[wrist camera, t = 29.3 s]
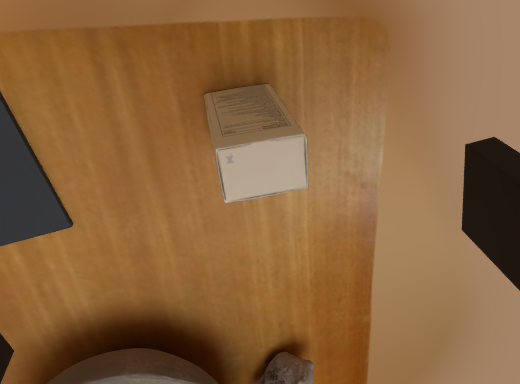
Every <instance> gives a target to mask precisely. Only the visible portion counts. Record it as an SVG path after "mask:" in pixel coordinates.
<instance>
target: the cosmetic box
mask: <svg viewBox="0 0 520 384" xmlns="http://www.w3.org/2000/svg"><path fill="white" fill-rule="evenodd" d="M204 99H205V106H206V113H207V119H208V125H209V130H210V135H211V140H212V145H213V150H214V155H215V160H216V166H217V170H218V175H219V180H220V184H221V189H222V194H223V198H224V201H225V202H236V201H243V200H249V199H254V198H260V197H265V196H271V195H276V194H281V193H286V192H291V191H295V190H300V189H305V188H307V186H308V181H307V178H308V164H307V137H306V135H305V133H304V132H303V131H302V129H301V128H300V126H299V125H298V123H297V122H296V121H295V119H294V118H293V116H292V115H291V113H290V112H289V111H288V109H287V108H286V106H285V105H284V104H283V102H282V101H281V99H280V98H279V96H278V95H277V93H276V92H275V91H274V89H273V88H272V86H271V85H270V84H263V85H254V86H247V87H241V88H234V89H228V90H223V91H217V92H212V93H207V94H205V95H204Z"/></svg>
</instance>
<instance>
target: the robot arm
mask: <svg viewBox="0 0 520 384" xmlns="http://www.w3.org/2000/svg"><path fill="white" fill-rule="evenodd" d="M462 230H463V232H464V233H465V234H466V235H467V236H468V237H469V238H470V239H471V240H472V241H473V242H474V243H475V244H476V245H477V246H478V247H479V248H480V249H481V250H482V251H483V253H484V254H486V256H487V257H488V258H489V259H490V260H491V261H492V262H493V263H494V264H495V265H496V266H497V267H498V268H499V269H500V270H501V271H502V273H503V274H504V275H505V276H506V277H507V278H508V279H509V280H510V281H511V282H512V283H513V284H514V285H515V286H516V287H517V288H518V289H519V290H520V153H519V152H517V151H516V150H514V149H513V148H511V147H510V146H508V145H506V144H505V143H503V142H502V141H500V140H498V139H497V138H495V137H492V138H488V139H484V140H481V141H477V142H473V143H470V144H466V145H465V167H464V190H463V214H462ZM13 352H14V350H13V349H12V347H11V346H10V345H9V344H8V342H7V341H6V340H5V339H4V337H3V336H2V335H1V334H0V383H1V381H2V379H3V376H4V374H5V371H6V369H7V367H8V364H9V362H10V359H11V357H12V355H13Z"/></svg>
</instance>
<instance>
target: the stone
mask: <svg viewBox="0 0 520 384" xmlns="http://www.w3.org/2000/svg"><path fill="white" fill-rule="evenodd" d="M313 369H314V364H313V363H312V362H311V361H310V360H303V359H301V358H298V357H296V356H294V355H291V354H289V353H288V352H281V353H278V354H277V355H276V356H275V357H274V358H273V360H272V361H271V362H270V363H269V365H268V367H267V369H266V371H265V372H264V375H263V376H262V377H261V378H260V379H259V380H258V381H257V382H255V384H313V378H314V375H313Z"/></svg>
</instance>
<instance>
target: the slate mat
mask: <svg viewBox="0 0 520 384" xmlns="http://www.w3.org/2000/svg"><path fill="white" fill-rule="evenodd" d="M72 225H73V223H72V221H71V219H70V218H69V216H68V214H67V212H66V210H65V209H64V207H63V205H62V203H61V201H60V200H59V198H58V196H57V194H56V192H55V191H54V189H53V187H52V185H51V183H50V182H49V180H48V178H47V176H46V174H45V173H44V171H43V169H42V167H41V165H40V164H39V162H38V160H37V158H36V156H35V155H34V153H33V151H32V149H31V147H30V146H29V144H28V142H27V140H26V138H25V137H24V135H23V133H22V131H21V129H20V128H19V126H18V124H17V122H16V120H15V119H14V117H13V115H12V113H11V111H10V110H9V108H8V106H7V104H6V102H5V100H4V99H3V97H2V95H1V93H0V246H3V245H6V244H10V243H14V242H18V241H21V240H25V239H29V238H33V237H36V236H40V235H44V234H48V233H51V232H55V231H59V230H63V229H67V228H70V227H72Z"/></svg>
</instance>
